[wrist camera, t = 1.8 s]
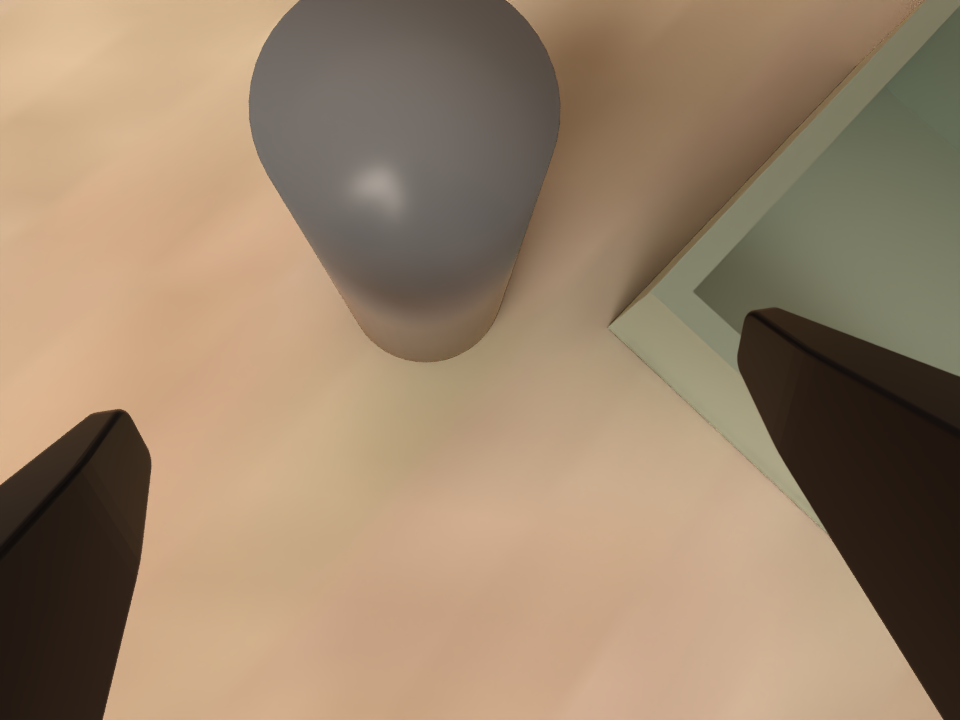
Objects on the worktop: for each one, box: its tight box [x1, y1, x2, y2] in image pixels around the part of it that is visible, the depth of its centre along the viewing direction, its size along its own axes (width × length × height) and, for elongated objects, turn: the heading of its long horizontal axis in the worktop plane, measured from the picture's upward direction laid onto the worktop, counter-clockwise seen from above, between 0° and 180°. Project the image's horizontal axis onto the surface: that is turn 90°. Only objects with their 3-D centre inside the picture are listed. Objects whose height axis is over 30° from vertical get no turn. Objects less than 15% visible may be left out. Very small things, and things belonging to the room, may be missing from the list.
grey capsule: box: [249, 0, 560, 362], centre depth 16 cm, size 5×5×11 cm
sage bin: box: [608, 0, 960, 535], centre depth 20 cm, size 14×14×4 cm
